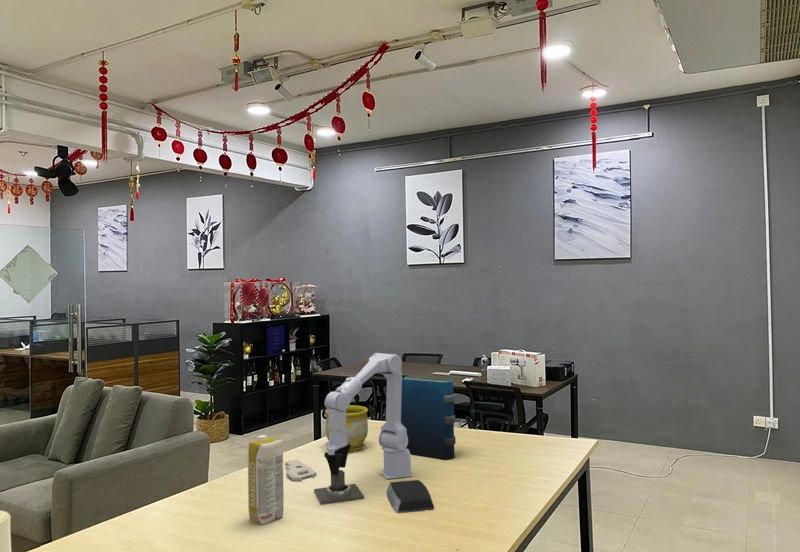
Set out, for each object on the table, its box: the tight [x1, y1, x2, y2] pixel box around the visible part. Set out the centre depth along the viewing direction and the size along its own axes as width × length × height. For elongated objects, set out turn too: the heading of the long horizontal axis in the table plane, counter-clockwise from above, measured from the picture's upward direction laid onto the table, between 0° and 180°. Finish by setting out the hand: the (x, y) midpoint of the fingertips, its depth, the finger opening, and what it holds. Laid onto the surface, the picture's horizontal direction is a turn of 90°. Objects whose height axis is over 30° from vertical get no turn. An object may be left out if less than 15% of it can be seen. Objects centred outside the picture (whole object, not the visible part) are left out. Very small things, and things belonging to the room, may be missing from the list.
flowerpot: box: [324, 405, 369, 454], centre depth 242 cm, size 18×18×16 cm
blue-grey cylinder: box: [330, 469, 346, 491], centre depth 187 cm, size 4×4×7 cm
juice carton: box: [247, 434, 285, 525], centre depth 170 cm, size 9×8×24 cm
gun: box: [284, 459, 317, 482], centre depth 211 cm, size 18×3×10 cm
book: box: [401, 375, 457, 461], centre depth 233 cm, size 24×9×30 cm, turn 58°
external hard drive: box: [386, 479, 435, 514], centre depth 182 cm, size 13×19×4 cm
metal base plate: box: [313, 483, 365, 505], centre depth 187 cm, size 14×12×2 cm
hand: (338, 471), depth 187 cm, fingers open, 7 cm apart
